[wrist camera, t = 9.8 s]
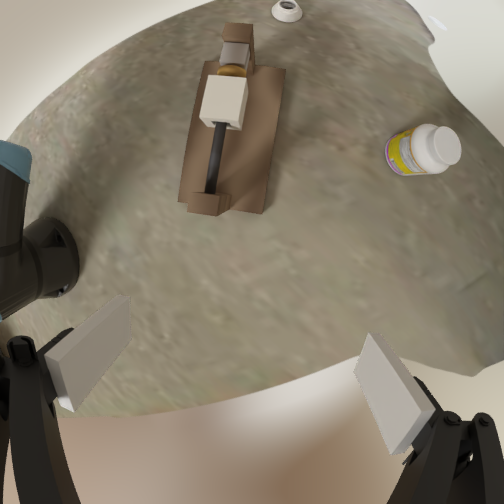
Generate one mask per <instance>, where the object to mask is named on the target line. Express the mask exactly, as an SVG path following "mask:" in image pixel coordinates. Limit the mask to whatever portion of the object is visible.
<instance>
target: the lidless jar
mask: <svg viewBox="0 0 504 504" xmlns="http://www.w3.org/2000/svg"><path fill="white" fill-rule="evenodd" d="M283 6H287V7H291V8H293V9H284V8H282V7H283ZM272 14H273V16H274V17H275V18H276V19H278V20H280V21H283V22H295V21H297V20H299V19H300V18H301V16H302V10H301V8H300V7H299V5H298V4H297V3H296V2H295V1H294V0H280V1H279V2H277V3H276V4H275V5H274V6H273V7H272Z"/></svg>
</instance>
